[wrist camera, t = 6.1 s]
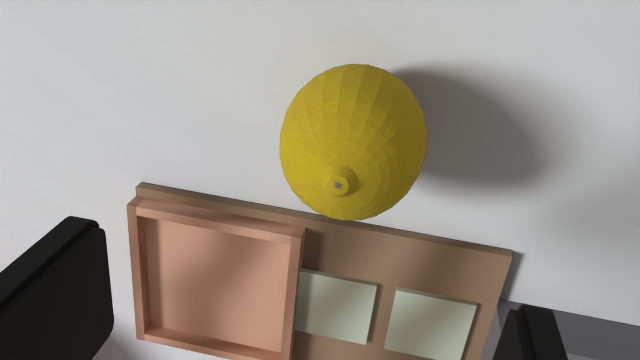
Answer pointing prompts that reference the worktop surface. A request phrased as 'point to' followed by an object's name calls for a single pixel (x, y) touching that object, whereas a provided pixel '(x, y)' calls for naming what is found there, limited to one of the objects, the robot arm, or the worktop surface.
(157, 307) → the board
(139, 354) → the worktop surface
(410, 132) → the lemon
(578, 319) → the housing
